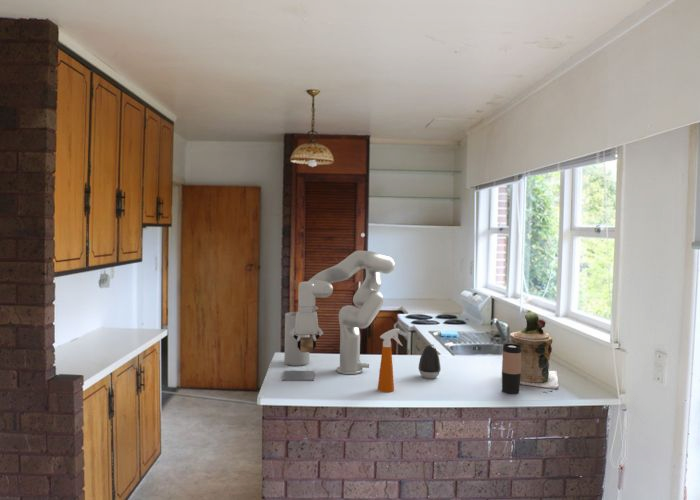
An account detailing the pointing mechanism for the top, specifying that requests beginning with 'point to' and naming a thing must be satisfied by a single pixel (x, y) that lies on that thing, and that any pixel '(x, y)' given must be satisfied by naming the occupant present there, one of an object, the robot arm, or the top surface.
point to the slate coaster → (298, 376)
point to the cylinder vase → (293, 343)
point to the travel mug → (511, 368)
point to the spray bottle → (387, 362)
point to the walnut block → (306, 344)
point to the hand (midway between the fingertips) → (306, 348)
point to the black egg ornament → (429, 362)
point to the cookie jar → (535, 353)
